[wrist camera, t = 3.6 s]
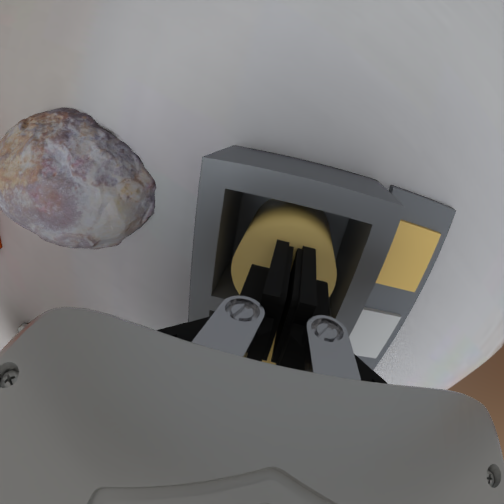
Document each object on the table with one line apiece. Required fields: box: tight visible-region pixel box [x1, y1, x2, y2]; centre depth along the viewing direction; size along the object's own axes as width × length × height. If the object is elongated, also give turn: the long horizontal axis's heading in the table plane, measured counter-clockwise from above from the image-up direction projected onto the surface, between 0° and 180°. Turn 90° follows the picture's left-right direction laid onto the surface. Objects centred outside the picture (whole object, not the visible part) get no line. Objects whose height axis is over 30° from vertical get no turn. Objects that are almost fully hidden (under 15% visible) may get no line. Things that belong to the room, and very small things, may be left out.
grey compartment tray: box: [188, 145, 405, 336], centre depth 19 cm, size 22×9×6 cm, turn 170°
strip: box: [349, 185, 456, 370], centre depth 20 cm, size 22×5×1 cm, turn 170°
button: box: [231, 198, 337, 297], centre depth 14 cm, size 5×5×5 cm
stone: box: [0, 108, 156, 249], centre depth 18 cm, size 17×10×10 cm
